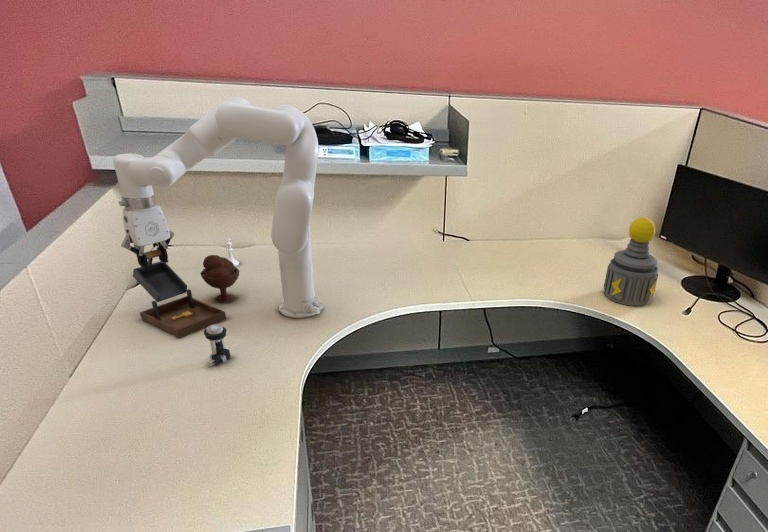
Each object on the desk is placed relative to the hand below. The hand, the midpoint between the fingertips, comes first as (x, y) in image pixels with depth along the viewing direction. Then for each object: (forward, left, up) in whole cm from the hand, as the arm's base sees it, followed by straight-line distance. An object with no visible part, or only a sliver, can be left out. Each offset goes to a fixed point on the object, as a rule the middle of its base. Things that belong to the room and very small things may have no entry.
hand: (154, 263), depth 163 cm
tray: (-9, 0, -15) cm, 18 cm away
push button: (-36, +9, -15) cm, 40 cm away
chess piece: (+16, -36, -15) cm, 42 cm away
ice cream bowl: (-6, -16, -15) cm, 23 cm away
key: (-8, 0, -14) cm, 16 cm away
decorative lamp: (-110, -110, -15) cm, 156 cm away
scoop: (0, 0, -6) cm, 6 cm away
